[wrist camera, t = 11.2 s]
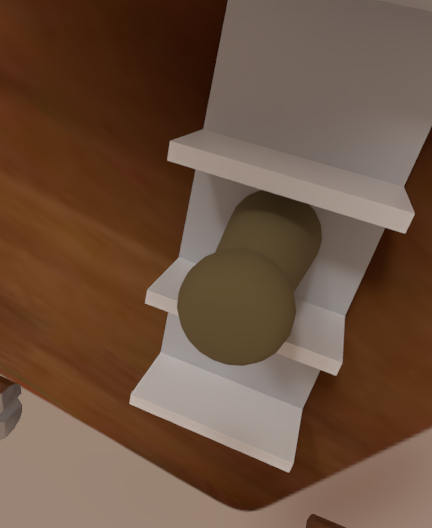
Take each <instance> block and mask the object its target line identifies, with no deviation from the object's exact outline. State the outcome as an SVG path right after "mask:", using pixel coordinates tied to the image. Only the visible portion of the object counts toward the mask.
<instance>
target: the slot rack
mask: <svg viewBox="0 0 432 528" xmlns="http://www.w3.org/2000/svg"><path fill="white" fill-rule="evenodd" d="M431 126H432V0H228V2H227V7H226V13H225V18H224V23H223V28H222V34H221V39H220V44H219V49H218V55H217V60H216V65H215V70H214V75H213V81H212V86H211V91H210V96H209V102H208V107H207V112H206V117H205V123H204V128H203V129H202V130H199V131H197V132H194V133H191V134H188V135H185V136H182V137H179V138H177V139H174V140H171V141H170V144H169V150H168V157H167V161H170V162H174V163H177V164H180V165H183V166H187V167H190V168H193V169H196V170H195V175H194V180H193V185H192V191H191V196H190V201H189V206H188V212H187V217H186V222H185V227H184V233H183V238H182V243H181V248H180V254H179V258H178V259H177V260H176V261H175V262H174V263H173V264H172V265H171V266H170V267H169V268H168V269H167V270H166V271H165V272H164V273H163V274H162V275H161V276H160V277H159V278H158V279H157V280H156V281H155V282H154V283H153V284H152V285H151V286H150V287H149V288H148V289H147V293H146V299H145V303H146V304H148V305H151V306H154V307H156V308H159V309H161V310H164V311H167V312H168V316H167V322H166V327H165V332H164V337H163V343H162V348H161V353H160V354H159V355H158V357H157V358H156V360H155V361H154V362H153V364H152V365H151V367H150V368H149V369H148V371H147V372H146V374H145V375H144V376H143V378H142V379H141V381H140V382H139V383H138V385H137V386H136V388H135V389H134V391H133V392H132V393H131V397H130V403H129V404H131V405H133V406H136V407H138V408H140V409H142V410H145V411H147V412H149V413H152V414H154V415H156V416H159V417H161V418H163V419H166V420H168V421H170V422H173V423H175V424H177V425H180V426H182V427H184V428H186V429H189V430H191V431H193V432H196V433H198V434H200V435H203V436H205V437H207V438H210V439H212V440H214V441H217V442H219V443H221V444H223V445H226V446H228V447H230V448H233V449H235V450H237V451H240V452H242V453H244V454H247V455H249V456H251V457H254V458H256V459H258V460H260V461H263V462H265V463H267V464H270V465H272V466H274V467H277V468H279V469H281V470H284V471H286V472H288V473H289V472H290V470H291V468H292V466H293V464H294V458H295V452H296V446H297V440H298V434H299V428H300V422H301V415H302V409H303V407H304V405H305V403H306V401H307V398H308V396H309V394H310V392H311V390H312V387H313V385H314V383H315V381H316V379H317V376H318V374H319V372H320V370H322V371H325V372H327V373H330V374H332V375H335V376H336V375H337V373H338V371H339V369H340V367H341V365H342V363H343V345H344V326H345V315H346V313H347V311H348V308H349V306H350V304H351V302H352V300H353V297H354V295H355V293H356V291H357V289H358V286H359V284H360V282H361V280H362V278H363V275H364V273H365V271H366V269H367V267H368V264H369V262H370V260H371V258H372V256H373V254H374V251H375V249H376V247H377V245H378V243H379V240H380V238H381V236H382V234H383V232H384V229H385V228H388V229H391V230H395V231H398V232H401V233H404V234H405V233H406V231H407V229H408V227H409V225H410V223H411V221H412V219H413V217H414V215H415V213H414V210H413V208H412V205H411V203H410V200H409V198H408V196H407V193H406V191H405V188H404V186H405V183H406V181H407V179H408V177H409V175H410V172H411V170H412V168H413V166H414V164H415V161H416V159H417V157H418V155H419V153H420V150H421V148H422V146H423V144H424V142H425V139H426V137H427V135H428V133H429V131H430V128H431ZM259 190H265V191H268V192H271V193H274V194H278V195H281V196H284V197H287V198H291V199H294V200H297V201H300V202H304V203H307V204H309V205H310V206H311V207H312V208H313V210H314V211H315V212H316V214H317V217H318V219H319V221H320V224H321V230H322V242H321V246H320V249H319V252H318V255H317V256H316V258H315V260H314V261H313V263H312V264H311V266H310V268H309V269H308V271H307V272H306V274H305V276H304V277H303V279H302V280H301V282H300V284H299V285H298V287H297V289H296V290H295V292H294V296H295V307H296V315H295V319H294V323H293V326H292V330H291V334H290V336H289V337H288V338H287V340H286V341H285V342H284V344H283V345H282V346H281V347H280V349H279V350H278V351H277V352H276V353H275V354H273V355H272V356H270V357H269V358H267V359H265V360H264V361H261V362H258V363H254V364H249V365H245V366H237V365H226V364H223V363H220V362H217V361H214V360H212V359H210V358H209V357H207V356H206V355H204V354H202V353H201V352H199V351H198V350H197V349H196V348H195V347H194V346H193V344H192V343H191V342H190V341H189V340H188V338H187V337H186V335H185V333H184V331H183V329H182V327H181V324H180V320H179V315H178V311H177V302H178V294H179V290H180V287H181V284H182V283H183V281H184V279H185V277H186V275H187V273H188V272H189V271H190V270H191V268H192V267H193V266H195V265H196V264H197V263H198V262H199V261H200V260H201V259H203V258H204V257H205V256H208V255H210V254H213V253H215V251H216V249H217V247H218V244H219V242H220V240H221V238H222V235H223V233H224V231H225V228H226V226H227V224H228V222H229V219H230V217H231V215H232V213H233V212H234V210H235V208H236V206H237V205H238V204H239V203H240V202H241V201H242V200H243V199H244V198H245V197H247V196H248V195H250V194H252V193H255V192H257V191H259Z"/></svg>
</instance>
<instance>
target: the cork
mask: <svg viewBox="0 0 432 528" xmlns="http://www.w3.org/2000/svg"><path fill="white" fill-rule="evenodd" d="M321 242H322V230H321V224H320V221H319V219H318V217H317V214H316V212H315V211H314V210H313V208H312V207H311V206H310V205H309V204H307V203H304V202H300V201H297V200H294V199H291V198H287V197H284V196H281V195H278V194H274V193H271V192H268V191H265V190H259V191H257V192H255V193H252V194H250V195H248V196H247V197H245V198H244V199H243V200H242V201H241V202H240V203H239V204H238V205H237V206H236V208H235V210H234V212H233V213H232V215H231V217H230V219H229V222H228V224H227V226H226V228H225V231H224V233H223V235H222V238H221V240H220V242H219V244H218V247H217V249H216V251H215V253H213V254H210V255H208V256H205V257H204V258H203V259H201V260H200V261H199V262H198V263H197V264H196V265H195V266H193V267H192V268H191V270H190V271H189V272H188V273H187V275H186V277H185V279H184V281H183V283H182V284H181V287H180V290H179V294H178V302H177V311H178V315H179V320H180V324H181V327H182V329H183V331H184V333H185V335H186V337H187V338H188V340H189V341H190V342H191V343H192V344H193V346H194V347H195V348H196V349H197V350H198V351H199V352H201V353H202V354H204V355H206V356H207V357H209V358H210V359H212V360H214V361H217V362H220V363H223V364H226V365H237V366H245V365H249V364H254V363H258V362H261V361H264V360H265V359H267V358H269V357H270V356H272V355H273V354H275V353H276V352H277V351H278V350H279V349H280V347H281V346H282V345H283V344H284V342H285V341H286V340H287V338H288V337H289V336H290V334H291V330H292V326H293V323H294V319H295V315H296V307H295V296H294V292H295V290H296V289H297V287H298V285H299V284H300V282H301V280H302V279H303V277H304V276H305V274H306V272H307V271H308V269H309V268H310V266H311V264H312V263H313V261H314V260H315V258H316V256H317V255H318V252H319V249H320V246H321Z"/></svg>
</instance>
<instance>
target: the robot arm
mask: <svg viewBox="0 0 432 528" xmlns="http://www.w3.org/2000/svg"><path fill="white" fill-rule="evenodd" d="M20 394H21V387H20V384H18V383H15V382H13V381H11V380H9V379H6V378H4V377H2V376H0V440H2V439H4V438H6V437H7V436H8V435H9V434H10V432H11V431H12V430H13V429H14V428H15V426H16V424H17V423H18V421H19V419H20V416H21V413H22V404H21V402H20V401H19V399H18V398H17V397H18V396H19V395H20ZM306 528H345V527H343V526H341V525H338V524H336V523H334V522H331V521H329V520H326V519H324V518H321V517H319V516H317V515H314V514H312V515H310V517H309V518H308V520H307V524H306Z"/></svg>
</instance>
